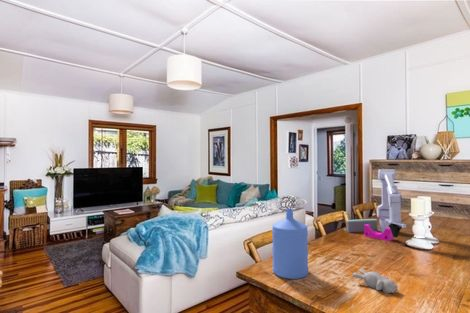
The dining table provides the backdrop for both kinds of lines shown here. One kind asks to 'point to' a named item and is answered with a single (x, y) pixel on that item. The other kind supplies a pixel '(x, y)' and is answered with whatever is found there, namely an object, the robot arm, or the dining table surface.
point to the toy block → (374, 234)
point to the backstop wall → (360, 225)
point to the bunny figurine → (377, 281)
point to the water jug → (290, 248)
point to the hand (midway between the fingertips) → (395, 237)
